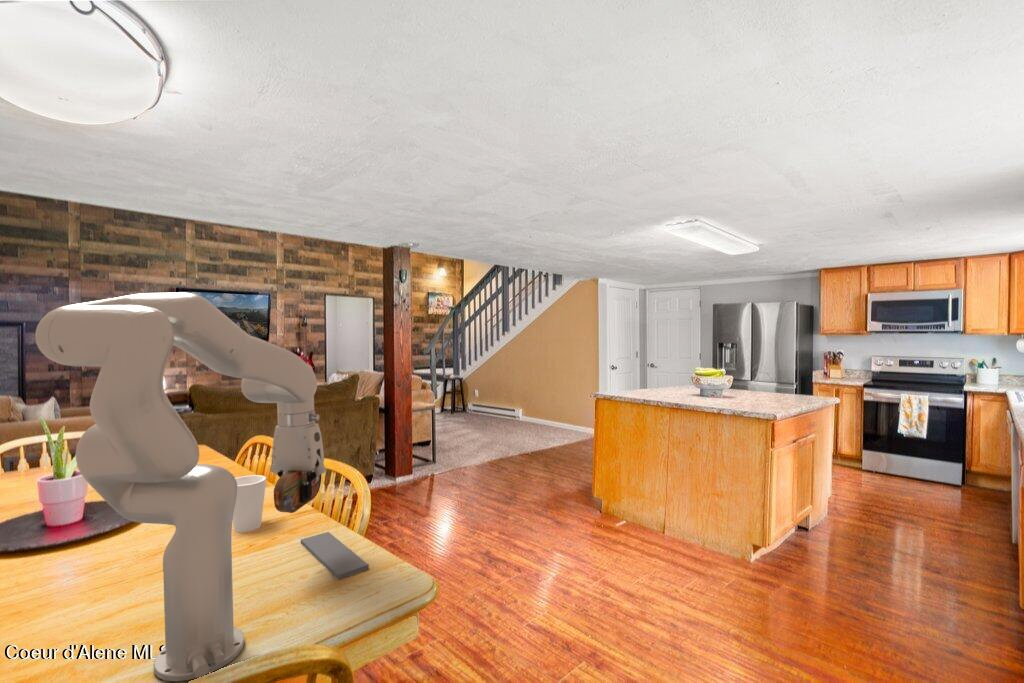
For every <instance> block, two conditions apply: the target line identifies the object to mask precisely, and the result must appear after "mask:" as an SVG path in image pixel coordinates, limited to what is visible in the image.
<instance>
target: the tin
mask: <svg viewBox="0 0 1024 683" xmlns="http://www.w3.org/2000/svg"><path fill="white" fill-rule="evenodd" d="M314 471H316V466H315V469H314V470H313V472H314ZM302 484H303V483H302V474H301V471H289V472H287V473H285V474H283V475H282V476H281V477H278V479H277V480H276V482H275V485H274V489H273V504H274V508H275V509H276V510H277V511H278V512H280V513H289V514H293V513H296V512H297V511H298V510H300V509H301V508H303V507H304V506H305V505H307V504H309V503H310V502H312V500H314V499H315V498H316V496H317V495H318V494H319V492H320V489H321V484H322V474H320V475H318V476H317V477H316V478H315V479H314V480H313V481H312V496H311V499H309V500H308V501H306V502H305V503H301V499H300V486H301V485H302Z"/></svg>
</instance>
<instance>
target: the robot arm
mask: <svg viewBox="0 0 1024 683" xmlns="http://www.w3.org/2000/svg"><path fill="white" fill-rule="evenodd" d="M34 336H35V343H36V346H37V348H38V350H39V351H40V352H41V354H43V356H45V357H46V358H47V359H49V360H50V361H52V362H53V363H54V362H55V363H57V364H59V365H63V366H70V367H100V370H99V374H98V376H97V379H96V382H95V385H94V386H93V390H92V392H91V397H90V400H89V412H90V416H91V418H92V420H93V422H94V424H93V425H91V426H90V427H89V428H87V430H85V431H84V432H83V433H82V435H81V437H80V438H79V439H78V440H79V441H78V442H77V445H76V449H75V462H76V466H77V468H78V471H79V473H80V475H81V477H83V479H84V480H85V481H86V482H87V483H88V484H89V486H90V487H91V488H92V489H93V490H95V492H96V493H97V494H99V496H100V497H101V498H102V499H103V500H104V501H105V502H106V503H107V504H108V505H109V506H110V508H112V509H113V510H114V511H115V512H116V513H117V514H119V515H120V516H121V517H122V518H125V519H126V520H128V521H130V522H134V523H140V524H152V525H154V524H155V525H168V526H175V531H174V533H173V535H172V537H171V539H170V540H169V542H168V543H167V544H166V547H165V549H164V552H163V556H162V557H163V558H162V572H163V599H164V600H163V606H164V607H163V608H164V609H163V610H164V639H165V641H164V644H165V645H164V646H165V647H164V648H162V649H161V651H160V652H158V654H157V655H156V657H155V658H154V660H153V661H154V662H153V673H154V674H155V676H156V677H157V678H158V679H160V680H163V681H168V682H182V681H183V682H184V681H189V680H193V679H194V678H195V679H199V678H198V677H200V676H203V675H205V674H207V673H209V672H212V671H214V672H216V671H218V670H219V668H220V669H221V668H223V667H224V666H226V665H227V664H230V663H231V662H232V661H233V660H234V659H235V658H236V657H237V656H238V655H239V654H240V653H241V651H242V650H243V648H244V646H245V636H244V635H245V634H244V632H243V631H242V630H241V629H240V628H238V627H235V626H234V598H233V597H234V595H233V594H234V593H233V589H234V588H233V556H232V555H233V552H232V535H233V534H232V531H233V529H232V528H233V513H234V508H235V502H236V497H237V482H236V479H235V478H236V477H235V476H234V474H233V473H232V472H231V471H230V470H228V469H226V468H225V467H222V466H217V465H213V464H207V463H206V464H205V463H202V464H201V463H200V464H199V460H200V447H199V444H198V442H197V440H196V437H195V436H194V434H193V433H192V431H191V430H190V428H189V427H188V426H187V424H186V422H185V421H184V420H183V418H182V417H181V416H180V414H179V412H177V410H176V409H175V407H174V406H173V404H172V403H171V401H170V399H169V398H168V396H167V394H166V392H165V390H164V376H165V370H166V367H167V364H168V361H169V358H170V355H171V354H172V350H173V347H176V348H178V349H180V350H181V351H183V352H185V353H186V354H188V355H189V356H190V357H193V359H195V360H197V361H199V362H200V363H201V364H202V365H204V366H206V367H208V369H210V370H211V371H213V372H215V373H218V374H220V375H224V376H229V377H232V378H237V379H242V380H241V381H240V389H241V390H240V391H241V393H242V394H243V396H244V398H246V399H247V400H249V401H251V402H253V403H259V404H276V406H277V407H276V409H277V425H276V426H275V428H274V431H273V439H272V440H273V441H272V464H271V465H270V466H271V467H270V468H269V470H270V472H271V473H272V474H275V475H277V476H278V478H280V477H281V476H282V475H283V474H285V473H287V472H289V471H301V474H302V483H303V484H302V485H301V486H300V499H301V503H305V502H306V501H308V500H309V499H311V496H312V481H313V480H314V479H315V478H316V477H317V476H318V475H320V474H321V475H323V474H324V473H325V472H327V468H326V466H325V464H324V462H325V453H324V445H323V437H322V432H321V429H320V424H319V423H316V421H319V420H320V418H321V417H320V414H316V410H315V394H316V391H317V389H318V381H317V377H316V373H315V372H314V369H313V367H312V365H311V364H308V363H306V361H305V360H303V359H302V358H301V357H300V356H299V355H297V354H295V353H294V352H293V351H290V350H288V349H286V348H284V347H281V346H280V345H279V346H278V345H276V344H273V343H271V342H269V341H266V340H264V339H261V338H258V337H256V336H253V335H250V334H248V333H247V332H246V331H245V330H244V329H243V328H242V327H240V326H239V325H238V324H236V323H235V321H233V320H232V319H230V318H229V317H228V315H226V314H225V313H223V312H222V311H221V310H220V309H219V308H218V307H217V306H215V305H214V304H213V303H211V301H209V300H208V299H207V298H205V297H203V296H201V295H199V294H195V293H191V292H179V291H178V292H176V291H175V292H145V293H144V292H142V293H134V294H128V295H123V296H118V297H113V298H106V299H100V300H99V299H98V300H92V301H87V302H81V303H75V304H73V303H72V304H68V305H63V306H59V307H56V308H55V309H53V310H51V311H49V312H48V313H47V314H45V315H44V316H43V317H42V318H41V319H40V321H39V323H38V324H37V326H36V329H35V334H34ZM315 466H316V471H314V472H313V470H314V469H315ZM217 669H218V670H217ZM215 670H216V671H215ZM212 673H213V672H212ZM209 674H210V673H209ZM207 675H208V674H207ZM205 676H206V675H205ZM203 677H204V676H203Z"/></svg>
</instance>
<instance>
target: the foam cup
mask: <svg viewBox="0 0 1024 683" xmlns="http://www.w3.org/2000/svg"><path fill="white" fill-rule="evenodd" d="M235 479H236V482H237V497H236V502H235V508H234V513H233V520H232V527H233V529H234V532H235V533H248V532H252V531H255V530H259V528H260V527H261V526H262V525H261V524H262V520H263V519H262V518H263V511H264V502H265V494H266V488H267V477H266V476H265V475H261V474H259V475H258V474H256V475H255V474H251V475H245V476H244V475H243V476H239V477H235Z"/></svg>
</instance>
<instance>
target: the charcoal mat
mask: <svg viewBox="0 0 1024 683" xmlns="http://www.w3.org/2000/svg"><path fill="white" fill-rule="evenodd" d="M300 544H301V546H302V547H304V548H305V549H306V551H308V553H310V554H311V556H313V557H314V558H315V559H316V560H317V561H318V562H319V563H320V564H321V565H322V564H323V565H322V566H323V567H324V566H325V567H326V568H327V569H328V570H329V571H328V570H327V569H326V568H325V567H324V568H325V569H326V570H327V571H328V572H329V573H330V572H331V573H332V574H331V573H330V574H331V575H332V576H333V577H334V578H335V579H336V580H341V579H345V578H347V577H349V576H352V575H356V574H358V573H362V572H364V571H367V570H369V568H370V567H369V563H367V562H366V561H365V560H364V559H362V558H361V557H360V556H359V555H357V553H356V552H354V551H353V550H351V548H348V546H347V545H345V543H343V542H342V541H340V540H339V539H338V538H337V537H335V535H333V534H332V533H331V532H329V531H326V532H322V533H319V534H316V535H311V536H307V537H305V538H301V539H300Z"/></svg>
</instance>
